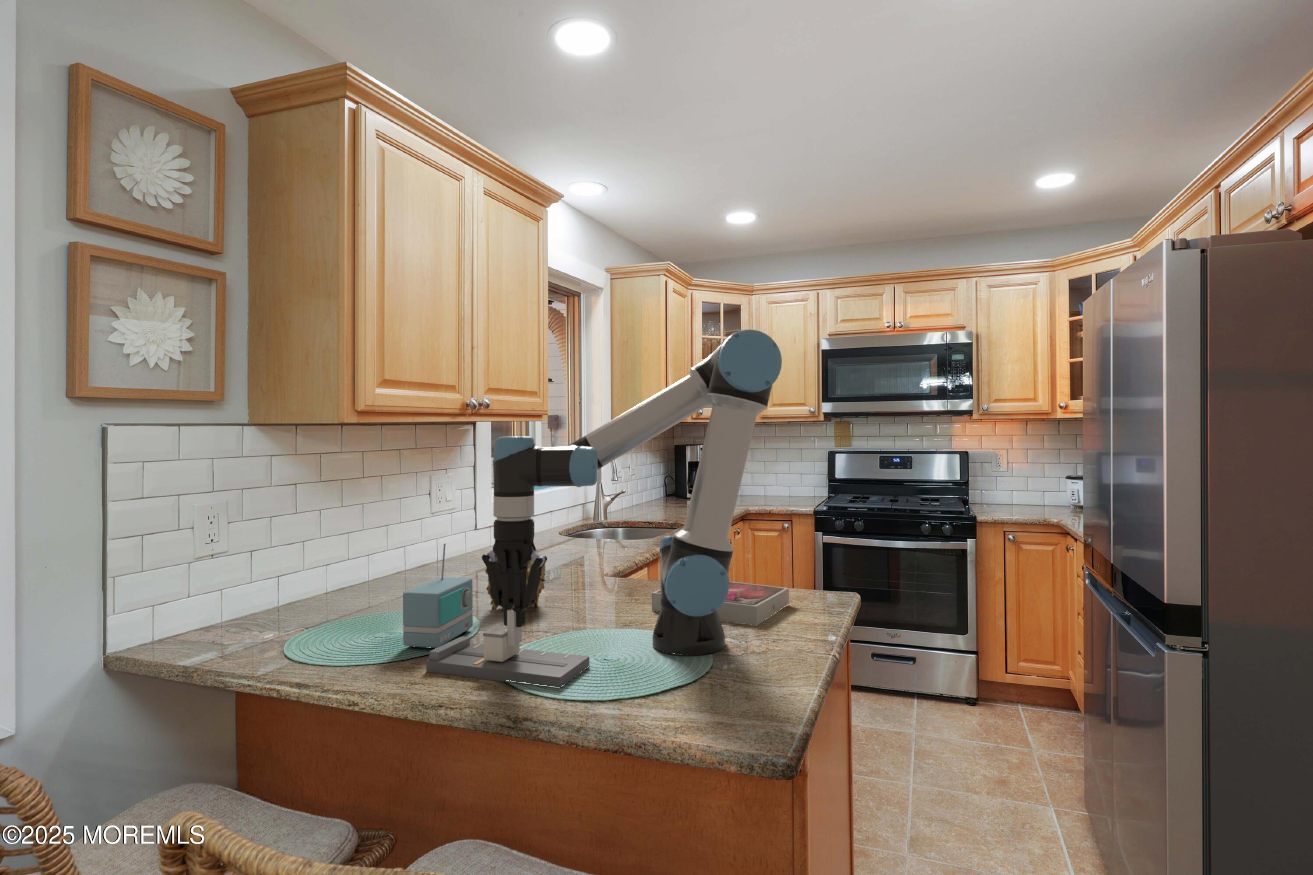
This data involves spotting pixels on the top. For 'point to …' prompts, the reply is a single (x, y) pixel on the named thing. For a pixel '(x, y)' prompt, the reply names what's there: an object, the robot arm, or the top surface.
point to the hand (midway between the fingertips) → (514, 643)
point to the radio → (437, 611)
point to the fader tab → (498, 644)
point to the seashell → (540, 587)
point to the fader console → (505, 664)
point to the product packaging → (745, 602)
